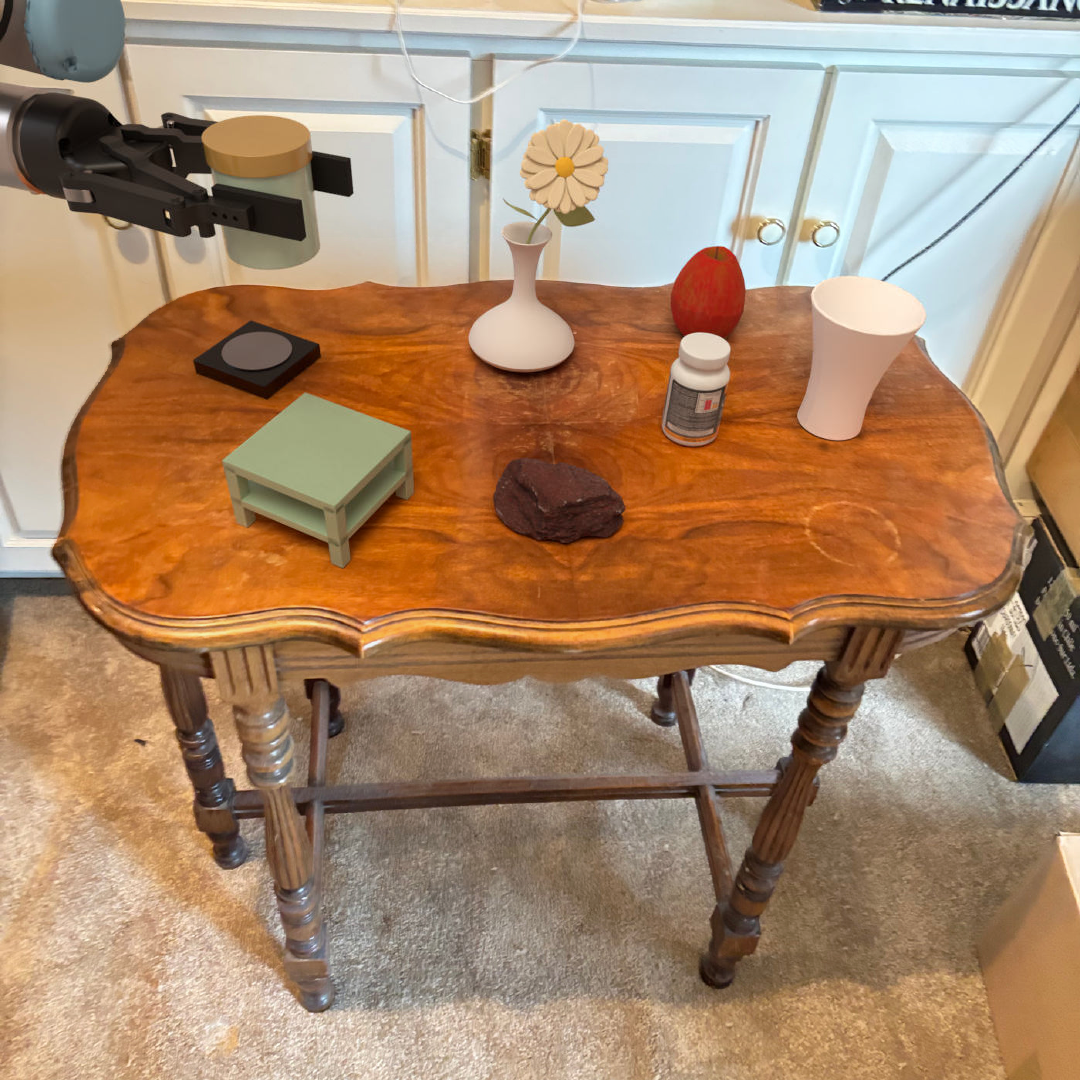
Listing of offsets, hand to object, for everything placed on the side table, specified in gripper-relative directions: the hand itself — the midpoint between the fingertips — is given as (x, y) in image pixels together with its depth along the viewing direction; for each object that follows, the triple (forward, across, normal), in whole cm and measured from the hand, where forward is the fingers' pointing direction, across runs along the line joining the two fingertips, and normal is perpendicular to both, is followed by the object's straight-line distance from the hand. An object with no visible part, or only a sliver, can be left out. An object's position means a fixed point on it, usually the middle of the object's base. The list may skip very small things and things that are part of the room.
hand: (326, 198), depth 67 cm
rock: (+19, -1, -26) cm, 32 cm away
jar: (-5, 0, -5) cm, 7 cm away
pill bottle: (+28, -18, -26) cm, 42 cm away
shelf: (-1, +5, -26) cm, 27 cm away
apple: (+26, -36, -26) cm, 52 cm away
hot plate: (-17, -13, -26) cm, 34 cm away
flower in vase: (+9, -25, -26) cm, 37 cm away
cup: (+41, -25, -26) cm, 55 cm away
